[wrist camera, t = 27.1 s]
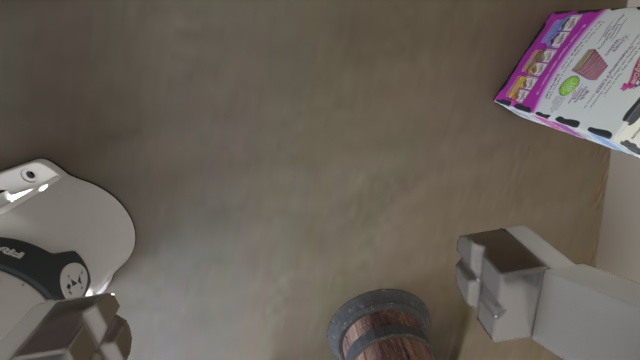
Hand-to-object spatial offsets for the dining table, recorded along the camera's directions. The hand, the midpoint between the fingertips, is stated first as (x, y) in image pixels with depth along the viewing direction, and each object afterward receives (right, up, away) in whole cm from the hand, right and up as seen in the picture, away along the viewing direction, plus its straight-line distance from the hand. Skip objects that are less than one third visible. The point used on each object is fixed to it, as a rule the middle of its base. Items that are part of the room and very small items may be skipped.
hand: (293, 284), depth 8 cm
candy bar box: (+26, +16, +33) cm, 45 cm away
